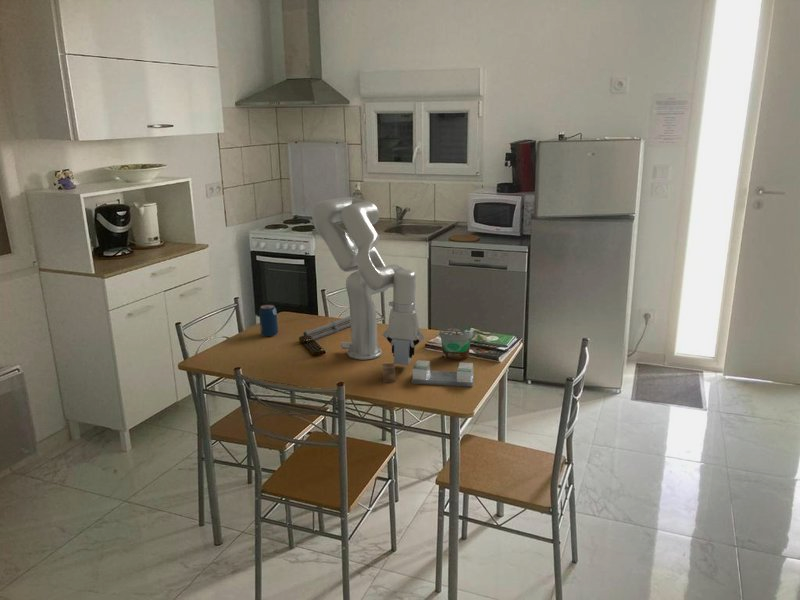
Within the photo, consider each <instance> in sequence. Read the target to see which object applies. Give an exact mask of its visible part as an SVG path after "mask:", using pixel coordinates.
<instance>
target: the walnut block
mask: <svg viewBox="0 0 800 600" xmlns="http://www.w3.org/2000/svg"><path fill="white" fill-rule="evenodd" d="M382 382H383V383H393V382H394V383H396V364H394V362H393V363H382Z"/></svg>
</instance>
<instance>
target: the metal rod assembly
mask: <svg viewBox="0 0 800 600" xmlns="http://www.w3.org/2000/svg"><path fill="white" fill-rule="evenodd" d="M348 328H351V321H350V316H346V317H344V318H341V319H337V320H333V321H330V322H329V323H326V324H323V325H321V326H317V327H315V328H312V329H310V330H307V331H304V332H303V336H304V337H305V336H307V337H310V336H311V337H312V338H313V339H315V340H319V339H321V338H323V337H327V336H328V335H329V336H330V335H333V334H336V333H339V332H341V331H342V330H345V329H348ZM307 337H306V338H307ZM315 340H314V341H315Z"/></svg>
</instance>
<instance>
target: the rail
mask: <svg viewBox="0 0 800 600" xmlns="http://www.w3.org/2000/svg"><path fill="white" fill-rule="evenodd" d="M458 364H459V366H458V365H457V369H456V371H446V370H444V371H441V370H431V361H430V360H416V361H415V363H414V366H413V367H412V377H411V380H410V381H411V384H416V385H417V384H419V385H432V386H433V385H434V386H450V387H467V388H473V386H474V382H475V381H474V380H475V378H476V377H475V372H474V363H473V362H459V363H458Z"/></svg>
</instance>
